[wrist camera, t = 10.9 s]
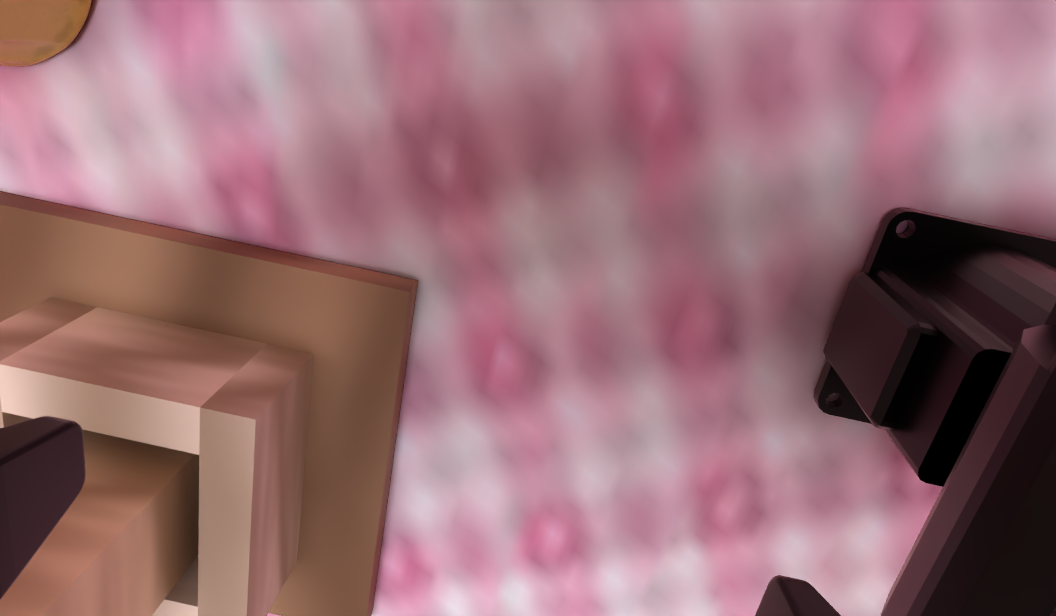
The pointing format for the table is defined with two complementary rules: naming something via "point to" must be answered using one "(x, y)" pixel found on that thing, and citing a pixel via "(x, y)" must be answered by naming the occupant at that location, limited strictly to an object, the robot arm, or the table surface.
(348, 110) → the table surface
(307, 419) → the well
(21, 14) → the vase
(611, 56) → the table surface
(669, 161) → the table surface
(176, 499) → the peg
